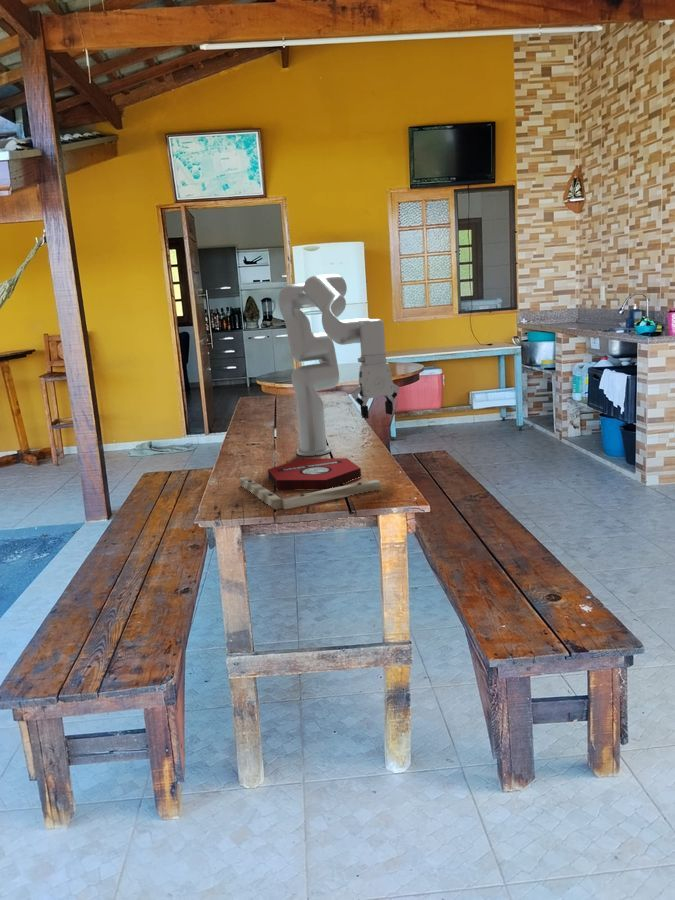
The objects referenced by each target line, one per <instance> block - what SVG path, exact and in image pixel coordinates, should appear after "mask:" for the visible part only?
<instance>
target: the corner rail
mask: <svg viewBox="0 0 675 900" xmlns="http://www.w3.org/2000/svg"><path fill="white" fill-rule="evenodd" d="M239 483H240V487H241V486H242V487H241V488H243V487H244V488H245V489H244V488H243V489H244V490H246V489H247V490H248V491H247V490H246V491H247V492H249V491H250V492H251V493H252V494H251V493H250V492H249V493H250V494H251V495H253V494H254V495H255V496H254V495H253V496H254V497H256V496H257V497H258V498H257V497H256V498H257V499H259V500H260V499H261V501H262V502H263V501H264V502H263V503H265V504H266V505H267V504H268V506H269V507H270V506H271V508H272V509H273V510H280V509H283V510H288V509H289V510H290V509H294V508H299V507H304V506H308V505H314V504H317V503H322V502H327V501H328V502H329V501H332V500H336V499H342V498H346V497H351V496H350V495H352V496H355V495H354V494H357V495H360V494H359V493H361V494H364V493H363V492H366V493H369V492H368V491H371V492H374V491H375V490H376V491H379V490H381V481H380V480H378V479H372V480H366V481H361V482H357V483H351V484H348V485H347V484H346V485H340V486H337V487H334V488H331V489H326V490H315V491H313V492H308V493H300V494H298V495H293V496H287V497H283V498H281V497H279V496H278V495H277V494H275V493H274V492H272V491H271V490H269V489H267V488H266V487H265V486H264V487H263V485H261V484H260V483H257V482H256V481H255V480H253V479H251V478H250V477H249V476H246V477H245V476H244V477H240V478H239Z"/></svg>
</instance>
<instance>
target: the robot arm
mask: <svg viewBox="0 0 675 900" xmlns="http://www.w3.org/2000/svg"><path fill="white" fill-rule="evenodd" d="M347 287H348V286H347V283H346V280H345V279H344V277H343V276H341V275H339V274H338V273H337V274H336V273H329V274H316V275H311V276H309V277H308V278H306V280H305V282H299V283H290V284H287V285H285V286H283V287H282V288H281V289H280V291H279V293H278V307H279V311H280V314H281V316H282V319H283V321H284V323H285V327H286V332H287V337H288V343H289V349H290V353H291V357H292V358H293V361H296V362H298V363H299V362H300V363H303V362H304V363H305V362H312V361H318V362H319V363H313V364H306V365H301V366H299V367H298V366H297V368H295V369H294V370H293V371H292V374H291V383H292V387H293V388H292V389H293V391H294V396H295V401H296V411H297V421H298V422H297V423H298V433H299V434H298V435H299V440H297V441H296V442H297V445H299V448H297V449H296V454H297V455H298V456H305V457H311V456H313V457H314V456H315V455H316V456H322V455H325V454H329V453H330V452H332V447H331V446H329V445H327V431H326V421H325V409H324V408H325V407H324V402H323V400H322V398H321V397H320V395H319V394H318V391H323V390H329V389H334V388H335V387H337V386H338V384H339V382H340V371H339V364H338V359H337V354H336V348H335V344H334V343H336V344H337V345H340V346H341V345H344V346H345V345H352V344H360V356H359V357H358V358H357V363H361V364H360V366H359V371H358V386H357V387H356V388H355V389H354V390H353V391H352V392H351V394H350V396H351V397H352V398H353V399H354V401H355V402H356V403H357V404H358V406H360V415H361V418H363V419H366V420H367V419H369V417H370V416H369V415H370V414H369V406H368V405H367V403H368V401H369V399H375V398H376V399H377V398H382V397H384V398H385V401H384V406H385V414H386V415H391V416H392V415H393V411H394V409H393V408H394V407H393V406H394V405H393V402H394V401H395V399H396V397H397V396H398V393H399V391H400V389H401V388H400V386H399V385H397V384H395V383H394V381H393V376H392V375H393V374H392V370H391V366H390V363H389V362H387V355H386V339H385V338H386V337H385V324H384V321H383V320H382V319H380V318H368V317H361V318H352V319H351V318H350V319H339V316H341V315H342V314H343V313H344V312H345V309H346V307H347V302H346V298H345V296H346V293H347V291H348V290H347V289H348V288H347ZM316 307H317V309H318V310H319V311H320V312H321V324H322V328H323V331H324V332H314V333H313V331H312V327H311V322H310V319H309V318H308V316H307V315H306V314H305V313H304V312H303V310H301V309H306V308H316Z"/></svg>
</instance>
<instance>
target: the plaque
mask: <svg viewBox="0 0 675 900" xmlns="http://www.w3.org/2000/svg"><path fill="white" fill-rule="evenodd" d="M361 469H362V468H361V467H360V466H358V465H357V464H356V463H354V462H353V461H352V460H350V459H348V458H347V457H343V458H341V457H338V458H337V457H336V458H334V457H333V458H331V457H330V458H329V457H328V458H327V457H326V458H301V459H298V460H295V461H291V462H287V463H283V464H281V465H277V466H274V467H272V468H268V469H267V474H268V480H269V479H270V480H271V481H272V482H271V481H270V480H269V481H270V482H271V484H272V485H273V484H274V485H275V486H274V485H273V486H274V487H275V489H276V488H277V489H278V490H277V489H276V490H277V491H295V490H294V489H324V490H325V489H329V488H332V487H334V488H336V487H335V486H337V487H339V486H341V485H340V484H342V485H344V484H343V483H345V484H347V483H346V482H348V481H350V480H352V479H355V478H358V477H360V476H361V477H362V471H361ZM348 483H349V482H348ZM338 485H339V486H338Z"/></svg>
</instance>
